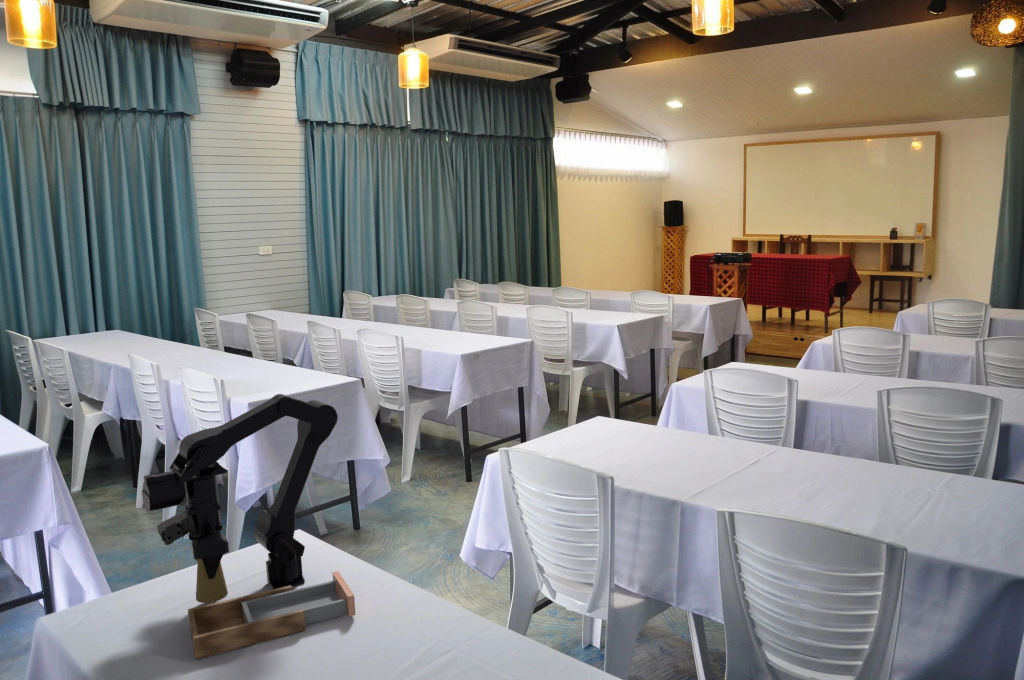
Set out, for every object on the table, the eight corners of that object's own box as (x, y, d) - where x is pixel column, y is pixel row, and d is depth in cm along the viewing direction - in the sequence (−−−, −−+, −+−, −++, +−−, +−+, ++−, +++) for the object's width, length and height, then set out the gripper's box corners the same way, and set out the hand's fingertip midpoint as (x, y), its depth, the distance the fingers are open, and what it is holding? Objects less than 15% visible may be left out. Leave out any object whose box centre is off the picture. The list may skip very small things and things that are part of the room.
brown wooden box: (292, 604, 155) (291, 585, 155) (305, 631, 145) (303, 611, 144) (189, 629, 147) (187, 609, 146) (195, 659, 137) (193, 638, 136)
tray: (339, 589, 160) (338, 571, 159) (355, 614, 149) (354, 595, 148) (241, 613, 151) (240, 593, 150) (251, 641, 141) (249, 620, 140)
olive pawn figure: (188, 600, 154) (183, 547, 153) (211, 586, 160) (206, 535, 158) (212, 605, 152) (207, 551, 150) (234, 591, 158) (229, 539, 156)
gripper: (155, 492, 158) (163, 564, 160) (160, 523, 141) (169, 603, 144) (213, 482, 162) (220, 553, 165) (225, 511, 146) (232, 589, 148)
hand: (210, 573), depth 155 cm, fingers closed on olive pawn figure, 4 cm apart
